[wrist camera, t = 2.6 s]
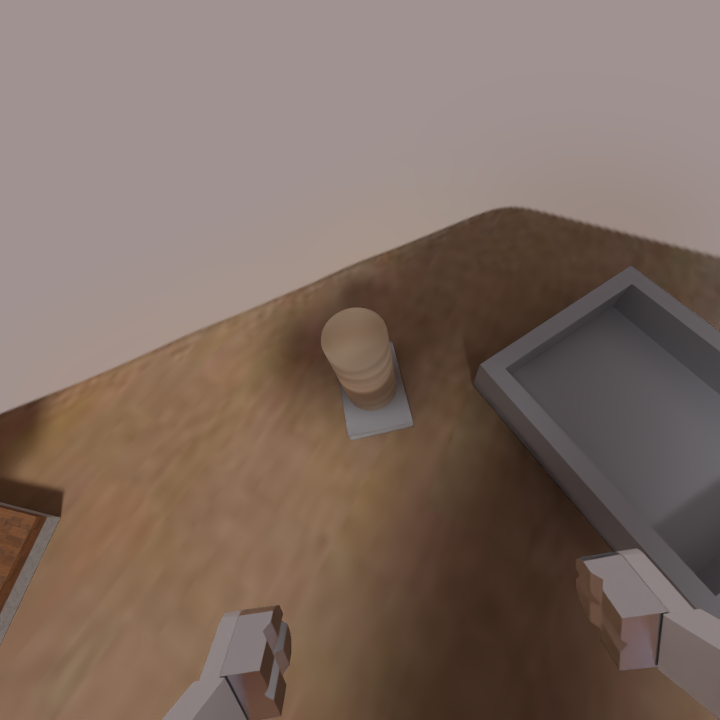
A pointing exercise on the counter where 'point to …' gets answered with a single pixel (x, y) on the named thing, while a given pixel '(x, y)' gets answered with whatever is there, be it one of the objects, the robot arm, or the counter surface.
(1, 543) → the white miniature tower model
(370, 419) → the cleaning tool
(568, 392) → the tray
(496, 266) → the counter surface
